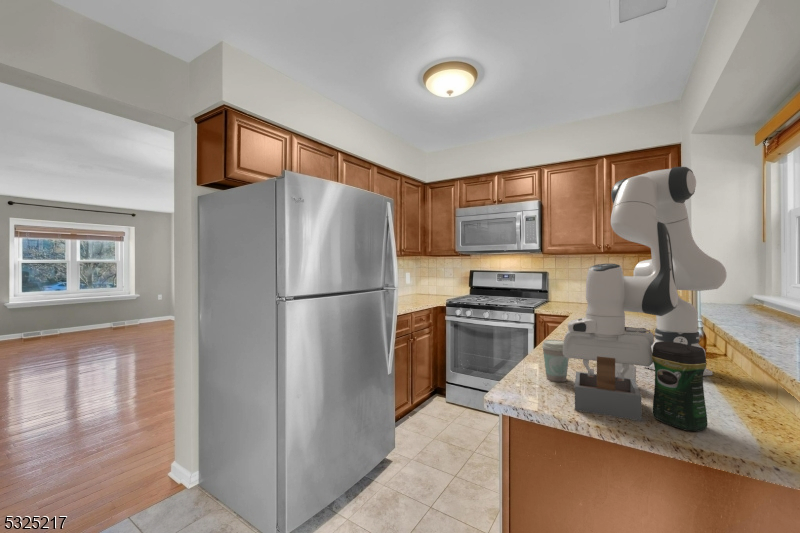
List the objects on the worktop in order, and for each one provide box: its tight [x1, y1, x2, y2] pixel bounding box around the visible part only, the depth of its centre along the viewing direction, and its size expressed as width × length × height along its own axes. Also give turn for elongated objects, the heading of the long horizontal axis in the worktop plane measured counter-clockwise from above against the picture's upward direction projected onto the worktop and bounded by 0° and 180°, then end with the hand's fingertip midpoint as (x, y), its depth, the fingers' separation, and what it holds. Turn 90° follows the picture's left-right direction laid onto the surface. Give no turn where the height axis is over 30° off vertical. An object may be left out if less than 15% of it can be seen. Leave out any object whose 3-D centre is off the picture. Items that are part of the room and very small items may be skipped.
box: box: [574, 371, 642, 422], centre depth 91 cm, size 14×14×6 cm
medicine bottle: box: [615, 363, 637, 383], centre depth 105 cm, size 7×7×12 cm
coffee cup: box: [541, 339, 570, 383], centre depth 112 cm, size 8×8×12 cm
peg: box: [596, 356, 615, 391], centre depth 91 cm, size 4×4×13 cm
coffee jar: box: [652, 341, 708, 432], centre depth 80 cm, size 10×8×19 cm
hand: (605, 378), depth 91 cm, fingers open, 5 cm apart
